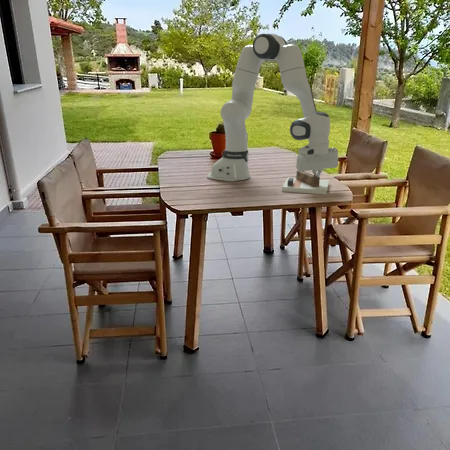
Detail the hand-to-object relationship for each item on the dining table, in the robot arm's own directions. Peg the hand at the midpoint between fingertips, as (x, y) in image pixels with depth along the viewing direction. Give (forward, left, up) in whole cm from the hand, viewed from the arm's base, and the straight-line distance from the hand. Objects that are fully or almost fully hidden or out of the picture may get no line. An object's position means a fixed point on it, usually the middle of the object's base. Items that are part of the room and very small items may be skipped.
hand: (316, 178), depth 189 cm
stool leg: (-5, +2, -2) cm, 6 cm away
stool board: (-5, 0, -5) cm, 7 cm away
